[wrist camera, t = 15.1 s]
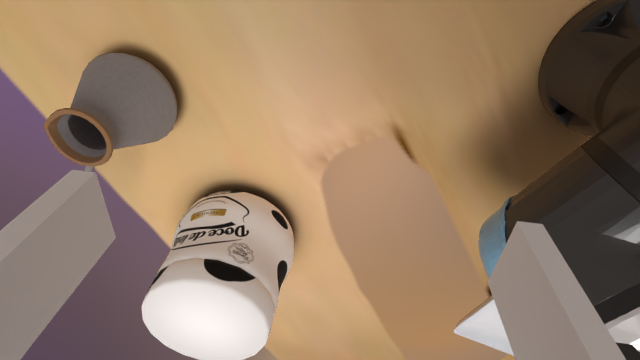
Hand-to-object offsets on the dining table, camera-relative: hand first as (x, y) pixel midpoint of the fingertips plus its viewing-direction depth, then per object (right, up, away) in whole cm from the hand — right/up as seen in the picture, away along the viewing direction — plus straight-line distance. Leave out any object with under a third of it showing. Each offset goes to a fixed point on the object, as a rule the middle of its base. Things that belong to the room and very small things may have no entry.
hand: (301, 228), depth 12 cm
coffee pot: (-24, +9, +39) cm, 46 cm away
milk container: (-11, -6, +47) cm, 49 cm away
